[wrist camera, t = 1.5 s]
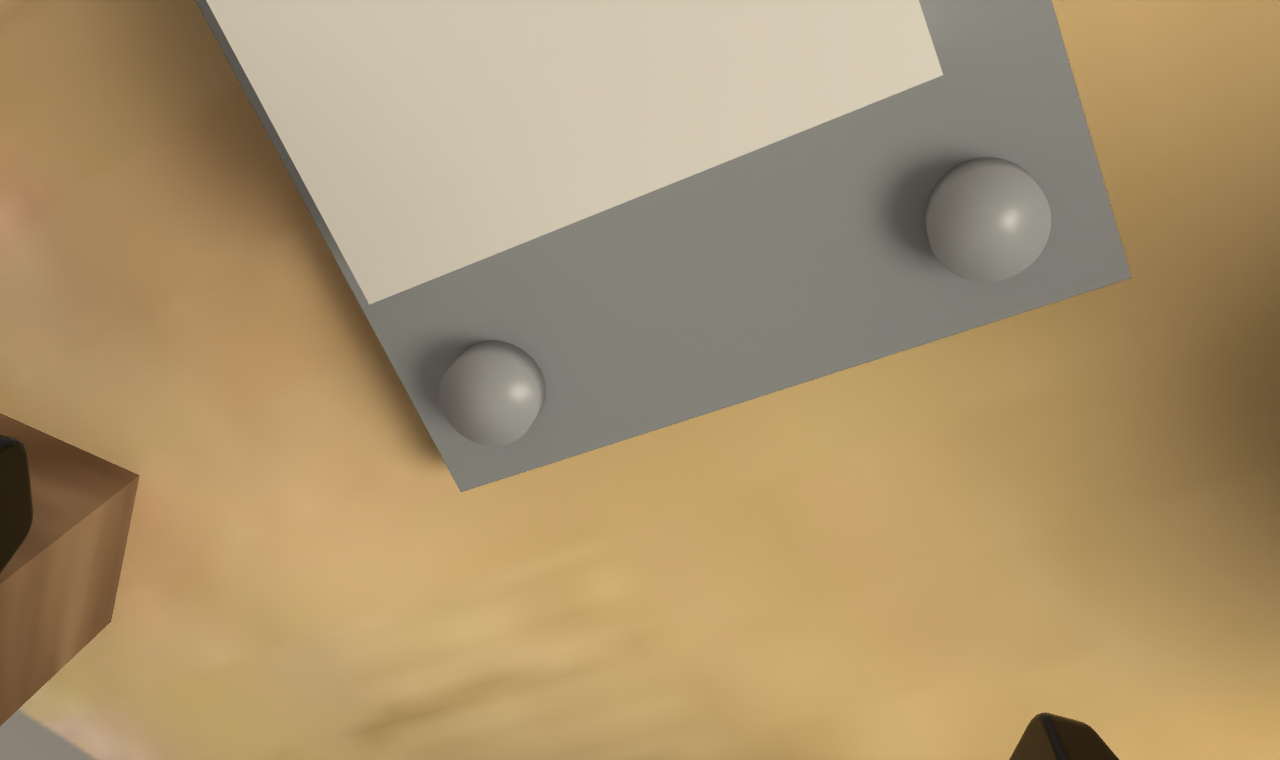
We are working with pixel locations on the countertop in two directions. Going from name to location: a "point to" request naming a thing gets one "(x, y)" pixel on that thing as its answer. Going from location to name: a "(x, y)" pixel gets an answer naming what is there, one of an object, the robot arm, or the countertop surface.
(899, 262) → the base brick
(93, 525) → the walnut brick
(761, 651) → the countertop surface
